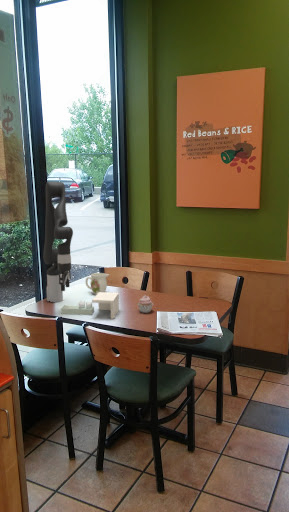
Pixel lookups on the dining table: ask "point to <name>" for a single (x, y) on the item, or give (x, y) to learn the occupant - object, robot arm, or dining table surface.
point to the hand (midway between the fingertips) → (65, 289)
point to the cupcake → (145, 304)
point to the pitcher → (97, 282)
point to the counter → (107, 302)
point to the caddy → (78, 309)
